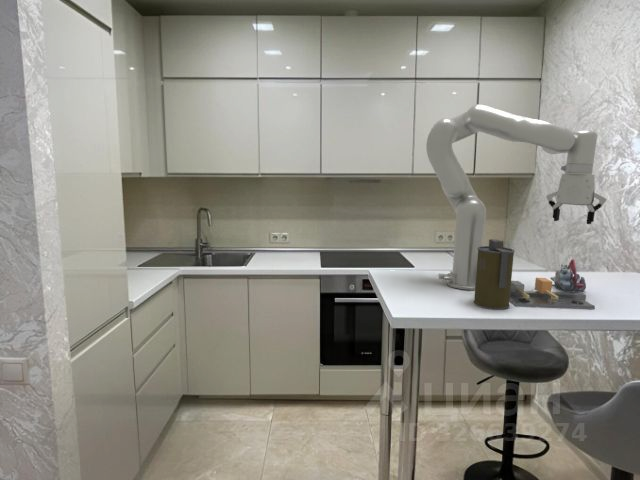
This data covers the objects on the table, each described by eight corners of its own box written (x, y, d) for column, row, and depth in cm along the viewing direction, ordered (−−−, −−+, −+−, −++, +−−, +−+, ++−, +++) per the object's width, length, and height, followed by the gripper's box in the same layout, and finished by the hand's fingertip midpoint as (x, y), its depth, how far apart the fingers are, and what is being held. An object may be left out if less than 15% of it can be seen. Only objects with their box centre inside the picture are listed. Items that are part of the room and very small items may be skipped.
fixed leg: (522, 301, 130) (523, 290, 129) (508, 291, 141) (508, 280, 141) (532, 302, 129) (533, 290, 129) (517, 291, 141) (518, 280, 141)
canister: (467, 299, 136) (472, 237, 133) (499, 299, 137) (504, 237, 133) (483, 310, 125) (488, 243, 122) (517, 310, 126) (523, 243, 123)
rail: (508, 298, 138) (509, 292, 138) (506, 296, 140) (506, 290, 140) (585, 300, 136) (586, 294, 136) (581, 298, 139) (582, 292, 139)
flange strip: (516, 306, 129) (516, 302, 129) (508, 300, 135) (509, 297, 135) (594, 309, 128) (595, 305, 128) (583, 303, 134) (584, 299, 134)
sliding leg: (551, 302, 129) (553, 287, 128) (534, 292, 141) (535, 277, 140) (561, 303, 129) (563, 287, 128) (543, 292, 141) (545, 277, 140)
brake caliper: (598, 288, 143) (577, 259, 143) (567, 305, 146) (547, 276, 146) (585, 280, 154) (566, 253, 154) (557, 296, 157) (538, 269, 157)
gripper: (546, 169, 142) (540, 220, 144) (607, 170, 130) (599, 226, 132) (553, 169, 147) (547, 219, 150) (612, 170, 135) (605, 224, 138)
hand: (572, 222), depth 141 cm, fingers open, 9 cm apart
